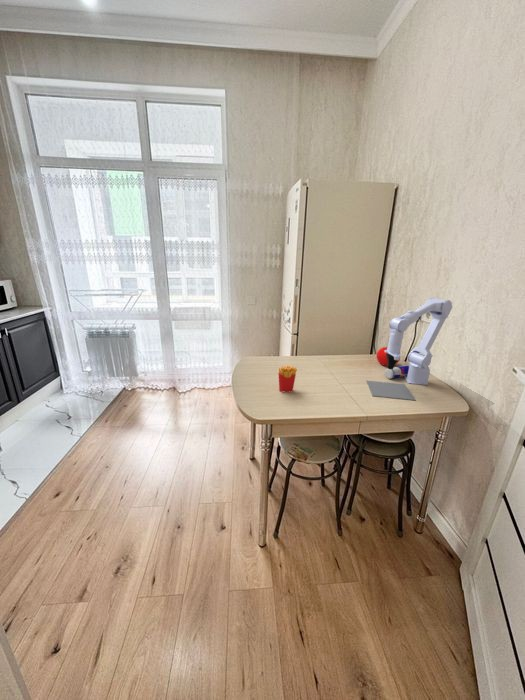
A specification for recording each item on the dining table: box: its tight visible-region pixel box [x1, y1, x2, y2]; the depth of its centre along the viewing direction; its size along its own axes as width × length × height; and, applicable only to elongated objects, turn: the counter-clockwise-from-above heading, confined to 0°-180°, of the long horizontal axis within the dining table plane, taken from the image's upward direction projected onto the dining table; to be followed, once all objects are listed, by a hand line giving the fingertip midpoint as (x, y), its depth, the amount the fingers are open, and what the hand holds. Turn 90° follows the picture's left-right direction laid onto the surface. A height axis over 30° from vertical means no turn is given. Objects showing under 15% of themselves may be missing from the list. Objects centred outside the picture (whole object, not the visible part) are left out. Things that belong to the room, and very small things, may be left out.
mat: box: [366, 380, 416, 402], centre depth 140 cm, size 19×17×1 cm
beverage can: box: [384, 364, 410, 380], centre depth 155 cm, size 6×6×15 cm
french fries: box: [278, 365, 298, 393], centre depth 134 cm, size 8×4×12 cm, turn 92°
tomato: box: [376, 346, 401, 367], centre depth 171 cm, size 12×13×11 cm
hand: (390, 368), depth 141 cm, fingers closed
